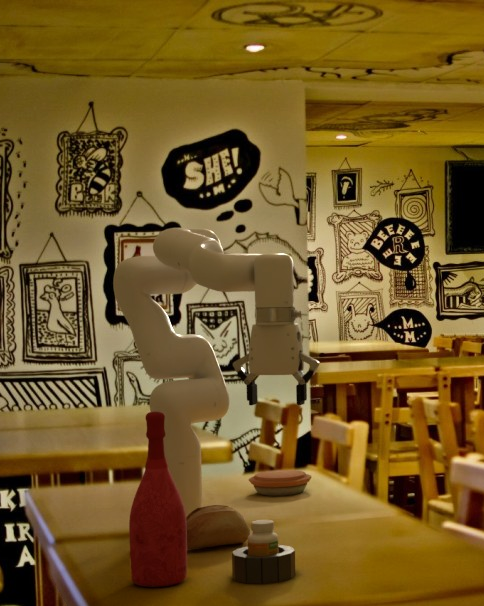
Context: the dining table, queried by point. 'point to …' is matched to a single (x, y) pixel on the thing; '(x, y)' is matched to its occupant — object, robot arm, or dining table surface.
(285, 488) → the pie
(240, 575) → the tape roll
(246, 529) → the bread roll
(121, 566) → the dining table surface
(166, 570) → the wine bottle
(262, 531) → the supplement bottle
